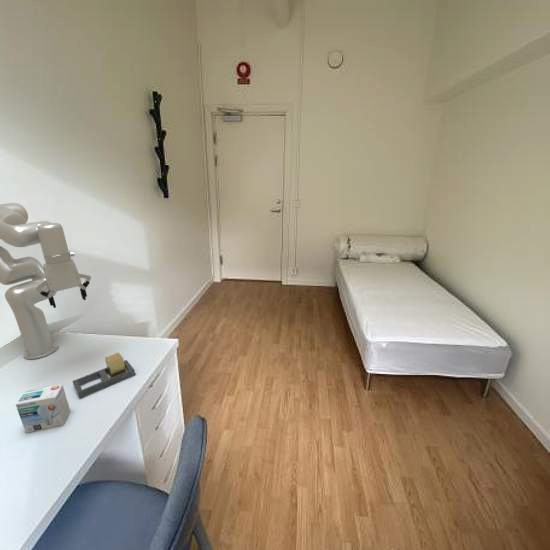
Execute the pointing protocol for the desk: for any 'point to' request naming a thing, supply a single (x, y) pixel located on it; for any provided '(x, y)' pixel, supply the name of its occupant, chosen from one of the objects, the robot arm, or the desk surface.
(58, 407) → the light bulb box
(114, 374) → the tan rectangular block
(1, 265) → the robot arm
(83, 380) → the grey rectangular frame
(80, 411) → the desk surface
